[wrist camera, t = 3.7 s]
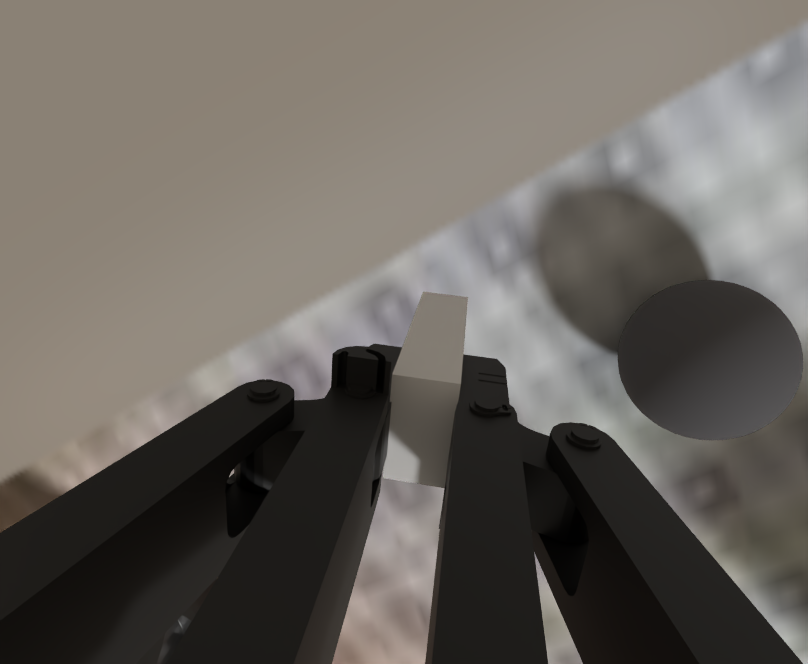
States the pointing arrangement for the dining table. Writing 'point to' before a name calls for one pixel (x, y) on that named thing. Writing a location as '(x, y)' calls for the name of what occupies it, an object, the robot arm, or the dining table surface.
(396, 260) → the dining table surface
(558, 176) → the dining table surface
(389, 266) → the dining table surface
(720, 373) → the cue ball black
